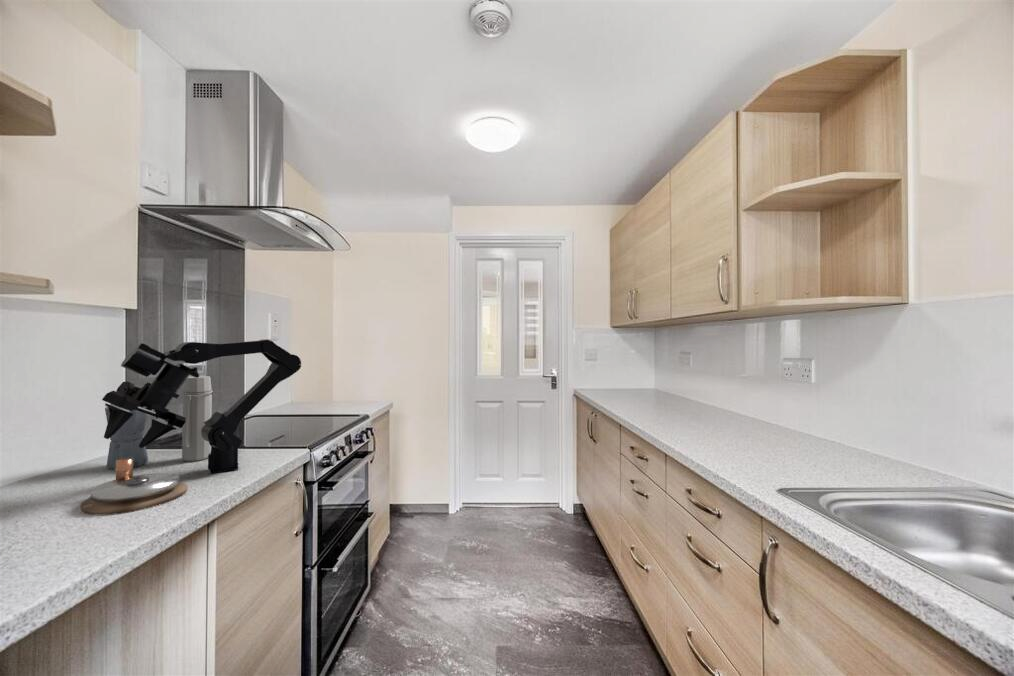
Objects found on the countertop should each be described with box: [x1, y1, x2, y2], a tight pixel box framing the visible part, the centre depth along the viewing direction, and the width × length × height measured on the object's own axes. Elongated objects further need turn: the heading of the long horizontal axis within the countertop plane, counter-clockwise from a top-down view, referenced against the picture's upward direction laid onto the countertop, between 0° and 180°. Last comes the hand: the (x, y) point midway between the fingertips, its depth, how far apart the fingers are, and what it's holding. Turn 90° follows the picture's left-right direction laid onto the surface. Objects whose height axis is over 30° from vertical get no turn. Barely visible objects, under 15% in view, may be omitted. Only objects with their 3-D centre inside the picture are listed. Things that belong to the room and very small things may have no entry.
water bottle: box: [180, 375, 214, 462], centre depth 127 cm, size 9×8×25 cm
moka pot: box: [104, 406, 149, 470], centre depth 121 cm, size 10×15×20 cm, turn 27°
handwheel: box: [90, 458, 180, 502], centre depth 96 cm, size 16×15×7 cm
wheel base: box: [80, 481, 188, 515], centre depth 95 cm, size 18×18×1 cm
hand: (123, 443), depth 101 cm, fingers open, 9 cm apart
